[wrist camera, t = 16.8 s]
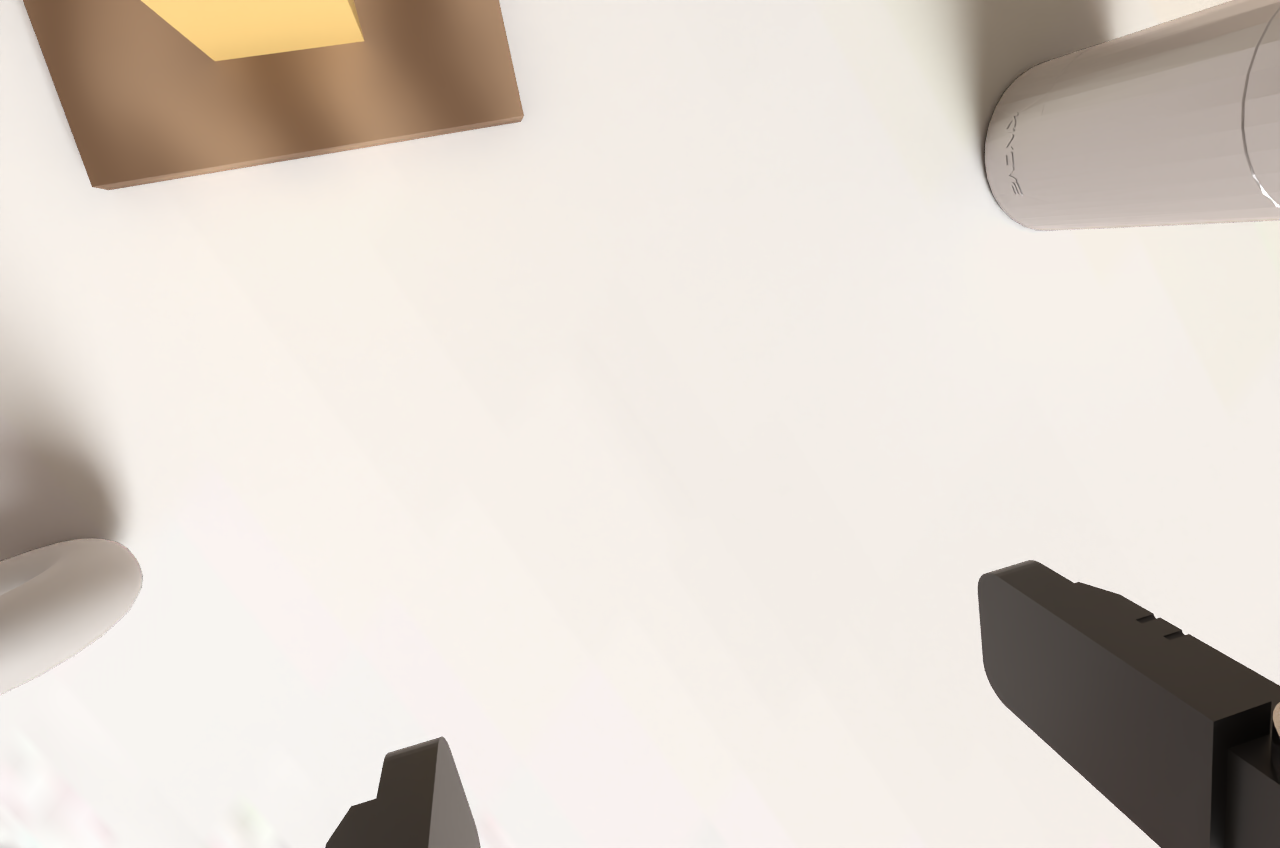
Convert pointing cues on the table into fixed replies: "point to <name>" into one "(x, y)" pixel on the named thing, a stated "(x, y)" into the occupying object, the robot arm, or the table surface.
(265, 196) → the table surface
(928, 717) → the table surface
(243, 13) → the bead
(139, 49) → the spindle stand
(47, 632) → the donut
